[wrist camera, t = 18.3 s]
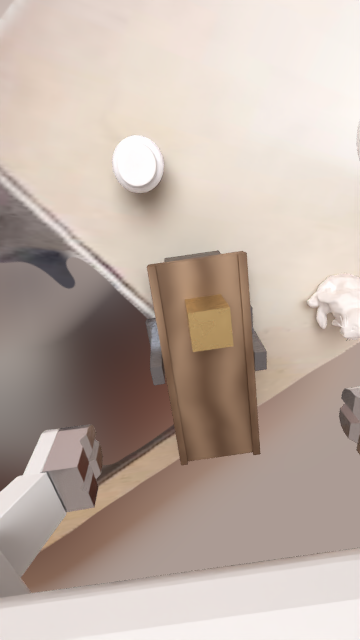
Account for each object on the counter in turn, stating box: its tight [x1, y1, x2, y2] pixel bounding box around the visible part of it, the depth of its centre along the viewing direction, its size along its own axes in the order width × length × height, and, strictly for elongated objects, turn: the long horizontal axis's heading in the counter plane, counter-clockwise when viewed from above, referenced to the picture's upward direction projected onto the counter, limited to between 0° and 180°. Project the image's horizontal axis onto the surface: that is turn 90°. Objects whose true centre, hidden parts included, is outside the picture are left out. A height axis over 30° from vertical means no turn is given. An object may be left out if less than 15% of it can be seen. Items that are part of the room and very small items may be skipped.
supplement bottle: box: [112, 135, 164, 193], centre depth 35 cm, size 6×6×10 cm
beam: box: [147, 251, 260, 465], centre depth 43 cm, size 12×30×3 cm, turn 7°
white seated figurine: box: [307, 273, 360, 341], centre depth 44 cm, size 6×8×12 cm
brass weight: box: [185, 294, 233, 352], centre depth 36 cm, size 5×5×6 cm
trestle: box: [146, 251, 267, 385], centre depth 45 cm, size 17×18×10 cm
